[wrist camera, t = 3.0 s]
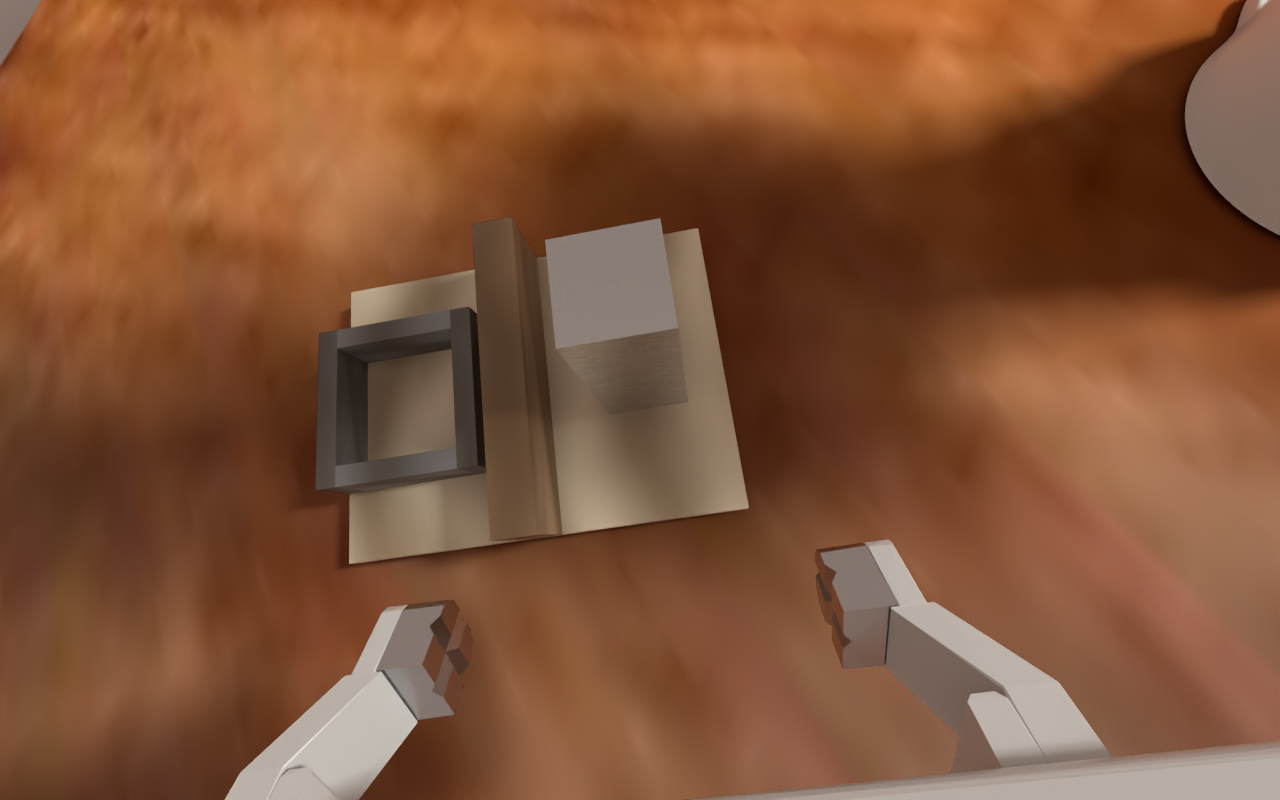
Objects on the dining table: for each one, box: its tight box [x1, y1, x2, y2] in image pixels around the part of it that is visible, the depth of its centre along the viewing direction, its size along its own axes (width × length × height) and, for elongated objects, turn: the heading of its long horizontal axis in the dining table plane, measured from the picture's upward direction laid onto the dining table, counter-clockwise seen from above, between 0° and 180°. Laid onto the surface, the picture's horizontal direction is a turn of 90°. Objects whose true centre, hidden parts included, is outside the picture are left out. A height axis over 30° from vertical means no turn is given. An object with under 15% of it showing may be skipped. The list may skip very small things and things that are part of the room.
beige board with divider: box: [315, 217, 749, 564], centre depth 26 cm, size 20×15×6 cm
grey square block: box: [545, 218, 688, 415], centre depth 22 cm, size 4×4×10 cm
